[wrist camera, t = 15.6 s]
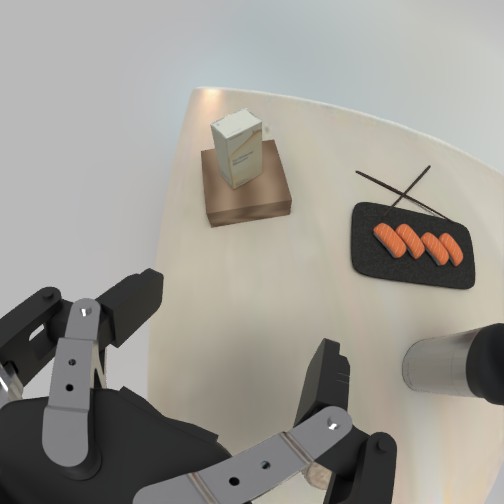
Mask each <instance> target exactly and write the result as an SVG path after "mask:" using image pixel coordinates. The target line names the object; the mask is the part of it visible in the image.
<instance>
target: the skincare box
mask: <svg viewBox="0 0 504 504" xmlns="http://www.w3.org/2000/svg"><path fill="white" fill-rule="evenodd" d="M210 125H211V129H212V134H213V139H214V144H215V149H216V154H217V158H218V163H219V168H220V173H221V175H222V177H223V178H224V179H225V180H226V182H227V183H228V184H229V185H230V186H231V187H232V188H233V189H236V188H237V187H239V186H241V185H243V184H245V183H246V182H248V181H250V180H252V179H253V178H255V177H257V176H259V175H260V174H262V173H263V169H262V121H261V120H260V119H259V118H258V117H256V116H255V115H254V114H253V113H252V112H250V111H249V110H248V109H247V108H243V109H241V110H239V111H237V112H234V113H232V114H230V115H228V116H226V117H224V118H222V119H220V120H218V121H215V122H213V123H211V124H210Z"/></svg>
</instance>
